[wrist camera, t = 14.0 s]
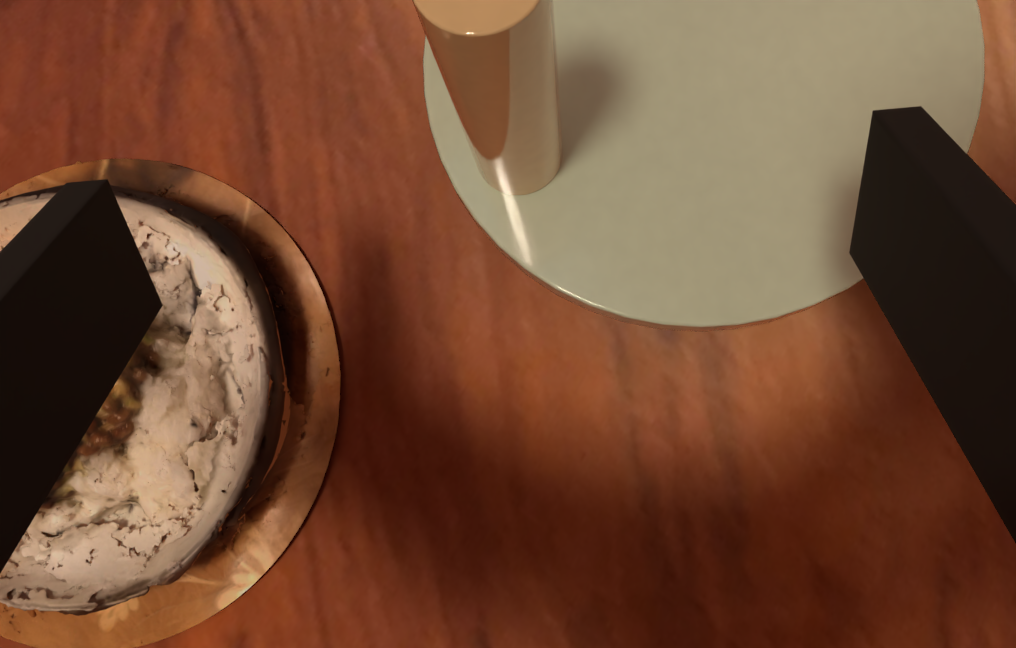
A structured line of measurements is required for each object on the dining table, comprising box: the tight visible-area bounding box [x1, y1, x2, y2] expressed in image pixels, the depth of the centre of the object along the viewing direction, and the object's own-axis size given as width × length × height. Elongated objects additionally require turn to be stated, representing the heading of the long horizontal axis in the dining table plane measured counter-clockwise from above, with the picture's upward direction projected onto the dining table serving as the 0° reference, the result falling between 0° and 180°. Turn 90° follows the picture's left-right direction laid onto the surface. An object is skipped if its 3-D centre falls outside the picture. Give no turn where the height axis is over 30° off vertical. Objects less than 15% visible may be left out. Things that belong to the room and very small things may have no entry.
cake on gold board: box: [0, 159, 341, 648], centre depth 23 cm, size 15×15×4 cm
